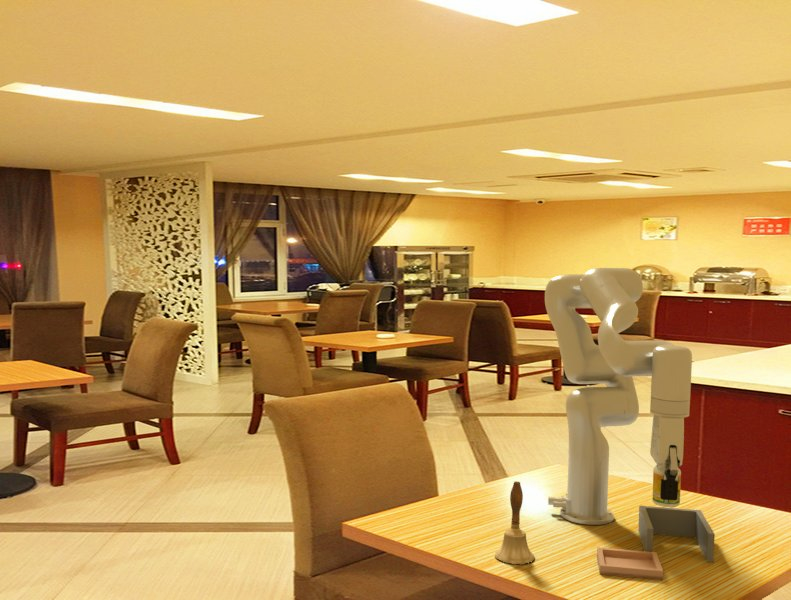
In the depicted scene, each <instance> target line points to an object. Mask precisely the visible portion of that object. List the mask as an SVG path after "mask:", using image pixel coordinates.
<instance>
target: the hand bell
mask: <svg viewBox="0 0 791 600" xmlns="http://www.w3.org/2000/svg"><path fill="white" fill-rule="evenodd" d="M509 497H510V498H509V500H510V502H509V503H510V506H511V513H512V514H511V524H510V528H508V529H506V530H505V531H504V532H503V533H504V535H503V540H502V543H501V546H500V547H499V549H497V550H496V552H495V553H494V558H495V557H496V558H497V559H499V560H501V561H503V562H502V563H504V562H507V563H506V564H508V563H513V564H512V565H516V564H520V565H526V564H525V563H528V562H531V561H533V560H534V559H536V557H535V555H534V553H533V552H532V551H531V549H530V548H529V545H528V540H527V533H526V532H525V530H523V529H521V528H520V523H521V522H520V520H521V519H520V512H521V509H522V505H523V502H524V501H523V500H524V495H523V490H522V487H521V481H513V485H512V487H511V490H510V496H509ZM496 558H495V559H496ZM499 560H498V561H499ZM501 561H500V562H501ZM534 561H535V560H534ZM534 561H533V562H534ZM523 563H524V564H523ZM531 563H532V562H531ZM528 564H529V563H528Z"/></svg>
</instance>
